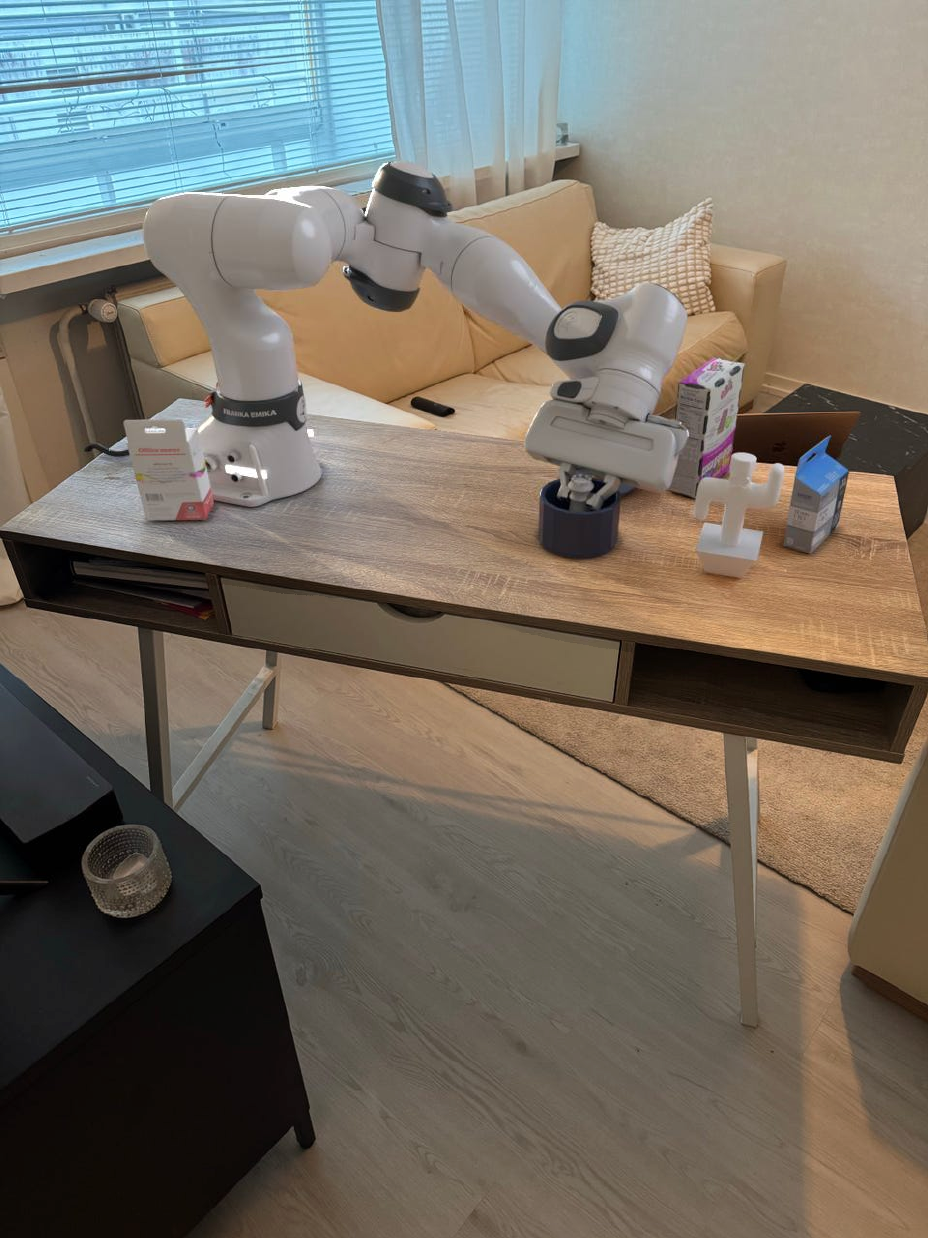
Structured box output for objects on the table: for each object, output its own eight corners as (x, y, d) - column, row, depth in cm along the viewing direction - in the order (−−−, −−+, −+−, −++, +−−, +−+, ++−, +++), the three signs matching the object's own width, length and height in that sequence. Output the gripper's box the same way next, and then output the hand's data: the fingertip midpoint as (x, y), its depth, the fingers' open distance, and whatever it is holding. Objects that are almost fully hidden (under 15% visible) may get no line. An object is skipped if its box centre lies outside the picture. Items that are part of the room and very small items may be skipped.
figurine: (691, 545, 118) (707, 437, 110) (767, 558, 116) (789, 448, 107) (682, 574, 113) (697, 463, 104) (761, 588, 110) (783, 474, 102)
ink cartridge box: (215, 503, 130) (195, 405, 122) (206, 520, 126) (185, 420, 118) (156, 504, 131) (132, 406, 122) (145, 521, 127) (119, 421, 118)
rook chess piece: (593, 543, 118) (597, 488, 114) (559, 540, 119) (561, 485, 114) (596, 526, 122) (600, 471, 117) (563, 523, 122) (565, 469, 118)
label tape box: (810, 555, 116) (830, 466, 109) (779, 545, 118) (797, 457, 111) (838, 528, 121) (859, 442, 114) (808, 518, 123) (827, 433, 116)
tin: (534, 555, 117) (535, 510, 114) (543, 517, 126) (545, 474, 122) (614, 562, 116) (618, 516, 112) (619, 522, 124) (622, 479, 120)
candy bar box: (698, 462, 138) (713, 355, 129) (730, 471, 136) (747, 362, 126) (664, 491, 131) (677, 380, 121) (696, 500, 128) (712, 388, 119)
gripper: (699, 434, 116) (657, 534, 115) (558, 401, 126) (519, 493, 125) (689, 413, 110) (645, 518, 110) (542, 380, 120) (501, 476, 119)
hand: (577, 504), depth 117 cm, fingers closed on rook chess piece, 3 cm apart
